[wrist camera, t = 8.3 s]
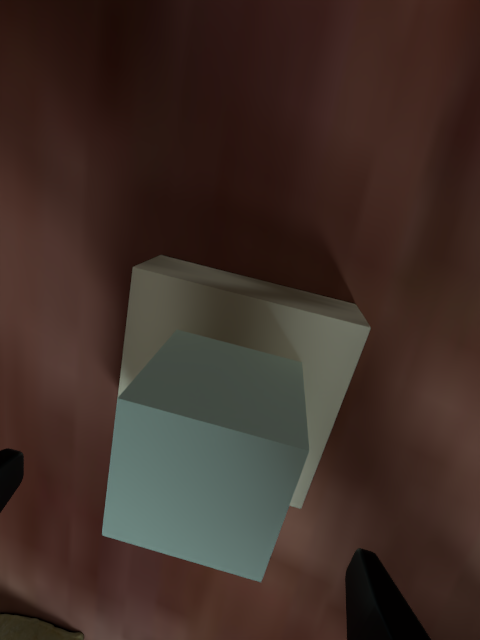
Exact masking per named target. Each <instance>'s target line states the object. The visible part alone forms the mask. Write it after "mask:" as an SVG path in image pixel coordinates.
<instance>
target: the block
mask: <svg viewBox="0 0 480 640" xmlns="http://www.w3.org/2000/svg"><path fill="white" fill-rule="evenodd" d="M308 453H309V440H308V428H307V416H306V404H305V392H304V380H303V367H302V362H299V361H295V360H291V359H288V358H284V357H280V356H276V355H272V354H269V353H265V352H261V351H257V350H253V349H250V348H246V347H242V346H238V345H234V344H230V343H227V342H223V341H219V340H215V339H211V338H208V337H204V336H200V335H196V334H192V333H189V332H185V331H181V330H176V331H175V332H174V333H173V334H172V336H171V337H170V338H169V339H168V340H167V341H166V343H165V344H164V345H163V346H162V347H161V348H160V350H159V351H158V352H157V353H156V354H155V355H154V356H153V358H152V359H151V360H150V361H149V362H148V363H147V365H146V366H145V367H144V368H143V369H142V370H141V372H140V373H139V374H138V375H137V376H136V377H135V379H134V380H133V381H132V382H131V383H130V384H129V385H128V387H127V388H126V389H125V390H124V391H123V392H122V394H121V395H120V396H119V397H118V398H117V407H116V416H115V425H114V433H113V442H112V451H111V459H110V468H109V477H108V486H107V494H106V503H105V512H104V520H103V529H102V535H103V536H106V537H110V538H113V539H117V540H120V541H123V542H127V543H130V544H134V545H137V546H140V547H144V548H147V549H150V550H154V551H157V552H161V553H164V554H167V555H171V556H174V557H177V558H181V559H184V560H188V561H191V562H194V563H198V564H201V565H204V566H208V567H211V568H215V569H218V570H221V571H225V572H228V573H232V574H235V575H238V576H242V577H245V578H248V579H252V580H255V581H259V582H261V581H262V578H263V576H264V573H265V570H266V567H267V565H268V562H269V559H270V557H271V554H272V551H273V548H274V546H275V543H276V540H277V538H278V535H279V532H280V529H281V527H282V524H283V521H284V519H285V516H286V513H287V510H288V508H289V505H290V502H291V499H292V497H293V494H294V491H295V489H296V486H297V483H298V480H299V478H300V475H301V472H302V470H303V467H304V464H305V461H306V459H307V456H308Z"/></svg>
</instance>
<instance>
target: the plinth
mask: <svg viewBox="0 0 480 640" xmlns="http://www.w3.org/2000/svg"><path fill="white" fill-rule="evenodd" d="M370 329H371V327H370V325H369V324H368V322H367V321H366V319H365V318H364V316H363V315H362V313H361V311H360V310H359V308H358V307H357V305H356V304H353V303H349V302H345V301H341V300H337V299H333V298H329V297H325V296H321V295H317V294H313V293H309V292H305V291H301V290H298V289H294V288H290V287H286V286H282V285H278V284H274V283H270V282H266V281H262V280H258V279H254V278H250V277H246V276H242V275H238V274H234V273H230V272H226V271H222V270H218V269H214V268H210V267H206V266H202V265H198V264H195V263H191V262H187V261H183V260H179V259H175V258H171V257H167V256H163V255H159V256H157V257H155V258H152V259H150V260H148V261H145V262H143V263H141V264H138V265H136V266H134V267H133V270H132V278H131V287H130V296H129V304H128V313H127V321H126V330H125V339H124V347H123V356H122V365H121V373H120V382H119V391H118V397H119V396H120V395H121V394H122V392H123V391H124V390H125V389H126V388H127V387H128V385H129V384H130V383H131V382H132V381H133V380H134V379H135V377H136V376H137V375H138V374H139V373H140V372H141V370H142V369H143V368H144V367H145V366H146V365H147V363H148V362H149V361H150V360H151V359H152V358H153V356H154V355H155V354H156V353H157V352H158V351H159V350H160V348H161V347H162V346H163V345H164V344H165V343H166V341H167V340H168V339H169V338H170V337H171V336H172V334H173V333H174V332H175V331H176V330H181V331H185V332H189V333H192V334H196V335H200V336H204V337H208V338H211V339H215V340H219V341H223V342H227V343H230V344H234V345H238V346H242V347H246V348H250V349H253V350H257V351H261V352H265V353H269V354H272V355H276V356H280V357H284V358H288V359H291V360H295V361H299V362H302V367H303V380H304V392H305V404H306V416H307V428H308V440H309V453H308V456H307V459H306V461H305V464H304V467H303V470H302V472H301V475H300V478H299V480H298V483H297V486H296V489H295V491H294V494H293V497H292V499H291V502H290V505H289V506H293V507H297V508H300V509H301V507H302V505H303V502H304V500H305V497H306V494H307V492H308V489H309V487H310V484H311V482H312V479H313V476H314V474H315V471H316V469H317V466H318V463H319V461H320V458H321V456H322V453H323V450H324V448H325V445H326V443H327V440H328V438H329V435H330V432H331V430H332V427H333V425H334V422H335V419H336V417H337V414H338V412H339V409H340V407H341V404H342V401H343V399H344V396H345V394H346V391H347V388H348V386H349V383H350V381H351V378H352V375H353V373H354V370H355V368H356V365H357V363H358V360H359V357H360V355H361V352H362V350H363V347H364V344H365V342H366V339H367V337H368V334H369V331H370Z"/></svg>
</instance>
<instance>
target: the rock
mask: <svg viewBox="0 0 480 640" xmlns="http://www.w3.org/2000/svg"><path fill="white" fill-rule="evenodd" d="M0 640H84V635H83V634H82V633H81V632H76V633H72V632H67V631H65V630H63V629H61V628H56V627H54V626H53V625H52V624H50V623H47V622H44V621H41V620H39V619H36V618H29V617H23V616H19V615H10V614H0Z"/></svg>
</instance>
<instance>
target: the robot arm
mask: <svg viewBox="0 0 480 640" xmlns="http://www.w3.org/2000/svg"><path fill="white" fill-rule="evenodd" d="M23 475H24V456H23V453H22V452H20V451H17V450H13V449H9V448H8V449H4V450H1V451H0V513H1V511H2V510H3V508H4V507H5V505H6V504H7V502H8V501H9V500H10V498H11V497H12V495H13V494H14V492H15V491H16V489H17V488H18V487H19V485H20V483H21V482H22V479H23ZM345 582H346V615H347V640H431V639H430V637H429V636H428V634H427V632H426V631H425V629H424V628H423V626H422V625H421V623H420V622H419V620H418V619H417V617H416V616H415V614H414V612H413V611H412V609H411V608H410V606H409V605H408V603H407V602H406V600H405V599H404V597H403V595H402V594H401V592H400V591H399V589H398V588H397V586H396V585H395V583H394V582H393V580H392V578H391V577H390V575H389V574H388V572H387V571H386V569H385V568H384V566H383V565H382V563H381V562H380V560H379V558H378V557H377V555H376V554H375V553H373V552H371V551H368V550H364V549H361V548H359V549H357V550H356V551H355V553H354V555H353V557H352V559H351V561H350V564H349V566H348V568H347V571H346V577H345Z"/></svg>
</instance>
